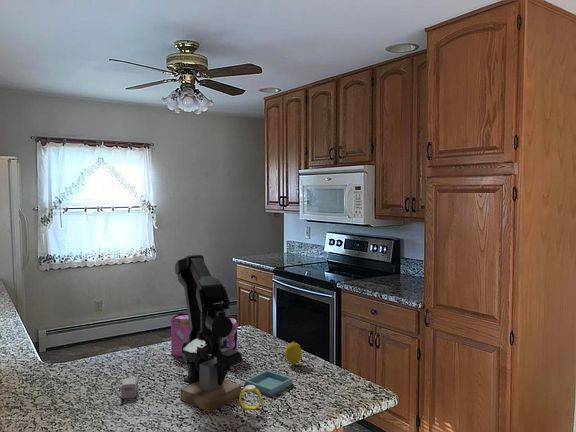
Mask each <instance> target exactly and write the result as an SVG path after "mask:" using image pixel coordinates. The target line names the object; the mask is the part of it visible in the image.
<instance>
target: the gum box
mask: <svg viewBox="0 0 576 432" xmlns="http://www.w3.org/2000/svg"><path fill="white" fill-rule="evenodd" d="M226 316H227V317H228V318H229V319H230V320H231V321H232V324H233V328H232V331H231V333H230V334H229V335H228V336H226V337H224V338H221V344H224V348H223V349H221V351H222V352H224V351H226V350H229V349H232V350H236V351H238V328H239V318H238V317H237V316H233V315H232V316H231V315H226ZM170 326H171V327H170V333H171V334H170V336H171V338H170V339H171V340H170V341H171V342H170V344H171V345H170V346H171V349H170V352H171V353H170V355H172V356H178V357H183V353H182V346H183V344H184V343H185V342H186V340H187V338H188V335H189V333H190V326H189V319H188V312H179V313H178V314H176V315H174V316H172V317H170ZM214 359H215V360H217V357H214Z"/></svg>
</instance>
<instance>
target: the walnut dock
mask: <svg viewBox="0 0 576 432" xmlns="http://www.w3.org/2000/svg"><path fill="white" fill-rule="evenodd" d="M179 389H180V400H181V401H184V402H185V403H189V404H191V405H194V406H195V407H198V408H200V409H202V410H205V411H207V412H213V411H215V410H216V409H219V408H220V407H222V406H225V405H227V404H228V403H230V402H232V401H234V400H235V399H236V400H237V399H239V396H240V393H241V392H242V385H241V384H238V383H235V382H232V381H229V380H226V379H224V381H223V383H222V387H219V388H217V389H215V390H213V391H211V392H208V391H205V390H203V389H200V381H197V382H195V383H193V384H192V383H189V384H188V385H186V386H184V387H181V388H179Z"/></svg>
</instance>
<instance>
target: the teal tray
mask: <svg viewBox="0 0 576 432" xmlns="http://www.w3.org/2000/svg"><path fill="white" fill-rule="evenodd" d="M248 385H254V386H255V388H256V389H258V390H259V391H260V393H261V395H262V394H264V395H265V396H268V397H273V396H275V395H277V394H278V393H280V392H282V391H284V390H286V389H287V388H289V387H291V386H292V385H293V378H292V377H289V376H287V375H283V374H280V373H277V372H274V371H271V370H267V369H265V370H263V371H262V372H260V373H258V374H255V375H254V376H251V377H248V378H247V379H245V380H244V388H245V387H246V386H248Z"/></svg>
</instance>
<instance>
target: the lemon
mask: <svg viewBox="0 0 576 432" xmlns="http://www.w3.org/2000/svg"><path fill="white" fill-rule="evenodd" d="M284 353H285V359H286V361H287V362H288V363H290V364H291V365H292V366H295V365H296V364H297V363H300V361H301V359H302V356H303V355H302V354H303V352H302V347H301V345H300V344H299V343H297V342H295V341H292V342H290V343H288V344H287V346H286V347H285V351H284Z"/></svg>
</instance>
